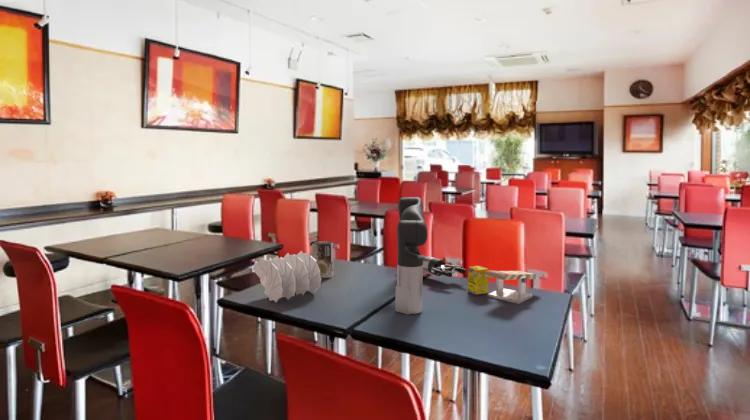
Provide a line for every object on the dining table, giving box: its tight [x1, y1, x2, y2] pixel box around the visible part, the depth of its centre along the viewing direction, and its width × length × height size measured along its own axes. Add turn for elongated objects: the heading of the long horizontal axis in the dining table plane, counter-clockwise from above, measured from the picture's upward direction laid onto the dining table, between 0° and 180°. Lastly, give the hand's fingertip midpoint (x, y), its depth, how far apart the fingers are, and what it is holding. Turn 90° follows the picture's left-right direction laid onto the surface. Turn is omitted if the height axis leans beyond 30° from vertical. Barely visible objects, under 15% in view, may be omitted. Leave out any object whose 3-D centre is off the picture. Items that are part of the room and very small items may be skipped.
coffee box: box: [311, 240, 335, 279], centre depth 218 cm, size 9×6×16 cm
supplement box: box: [467, 265, 490, 297], centre depth 192 cm, size 6×6×11 cm
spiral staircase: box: [252, 250, 322, 303], centre depth 186 cm, size 18×18×25 cm
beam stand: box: [487, 276, 533, 305], centre depth 187 cm, size 12×13×9 cm
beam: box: [485, 270, 537, 281], centre depth 187 cm, size 28×8×2 cm, turn 137°
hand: (458, 273), depth 201 cm, fingers open, 8 cm apart
